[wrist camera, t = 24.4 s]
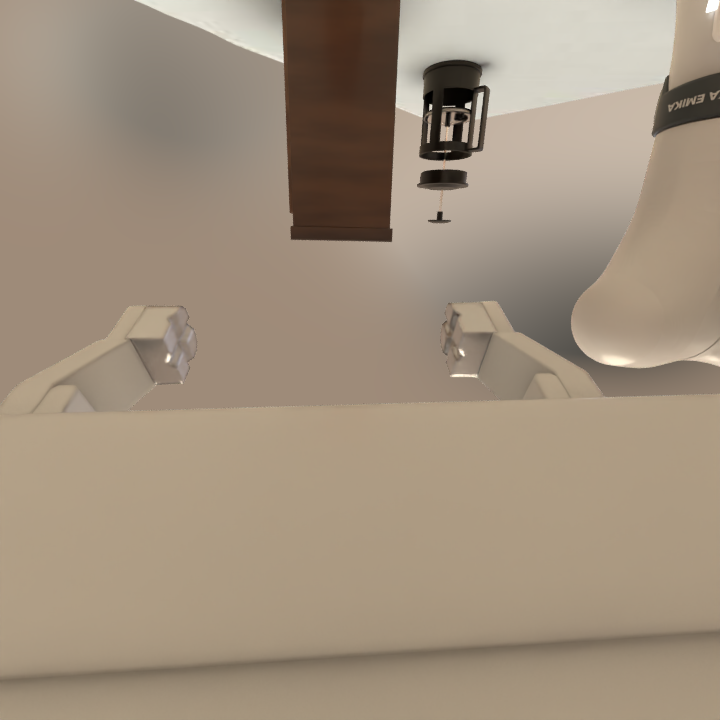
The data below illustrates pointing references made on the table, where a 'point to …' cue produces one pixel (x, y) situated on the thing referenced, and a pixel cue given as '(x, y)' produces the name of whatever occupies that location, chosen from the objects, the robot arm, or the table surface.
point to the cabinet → (340, 116)
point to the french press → (450, 121)
